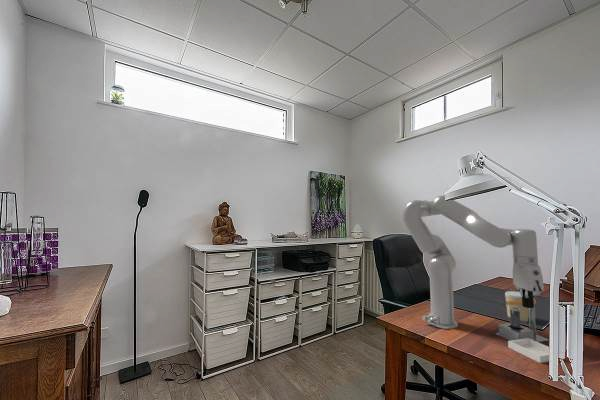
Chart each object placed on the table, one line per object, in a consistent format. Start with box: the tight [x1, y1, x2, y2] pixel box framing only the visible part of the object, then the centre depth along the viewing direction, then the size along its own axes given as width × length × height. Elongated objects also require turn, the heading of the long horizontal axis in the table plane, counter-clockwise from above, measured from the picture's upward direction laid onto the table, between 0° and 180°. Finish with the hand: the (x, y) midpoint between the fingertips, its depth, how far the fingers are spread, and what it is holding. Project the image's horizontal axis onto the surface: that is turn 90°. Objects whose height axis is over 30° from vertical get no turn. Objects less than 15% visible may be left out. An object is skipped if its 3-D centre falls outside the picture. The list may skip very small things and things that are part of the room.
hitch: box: [494, 304, 550, 343], centre depth 110 cm, size 16×10×14 cm, turn 103°
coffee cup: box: [504, 290, 529, 323], centre depth 130 cm, size 9×9×12 cm
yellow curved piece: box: [505, 298, 537, 306], centre depth 111 cm, size 14×3×2 cm, turn 103°
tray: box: [507, 338, 550, 364], centre depth 97 cm, size 10×11×3 cm
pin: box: [509, 306, 522, 330], centre depth 109 cm, size 3×3×12 cm
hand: (528, 307), depth 105 cm, fingers closed
